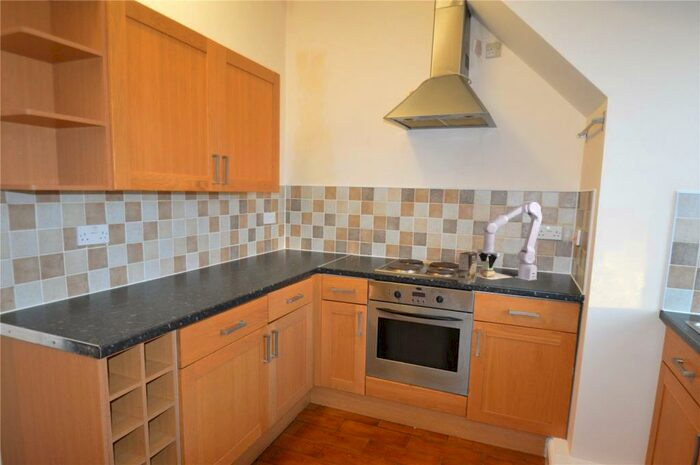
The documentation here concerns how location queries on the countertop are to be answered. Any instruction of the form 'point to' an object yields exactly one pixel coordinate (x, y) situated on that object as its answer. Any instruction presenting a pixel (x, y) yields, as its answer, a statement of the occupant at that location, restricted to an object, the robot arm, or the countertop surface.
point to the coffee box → (467, 267)
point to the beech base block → (486, 273)
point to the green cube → (486, 265)
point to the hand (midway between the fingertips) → (487, 267)
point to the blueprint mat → (495, 276)
